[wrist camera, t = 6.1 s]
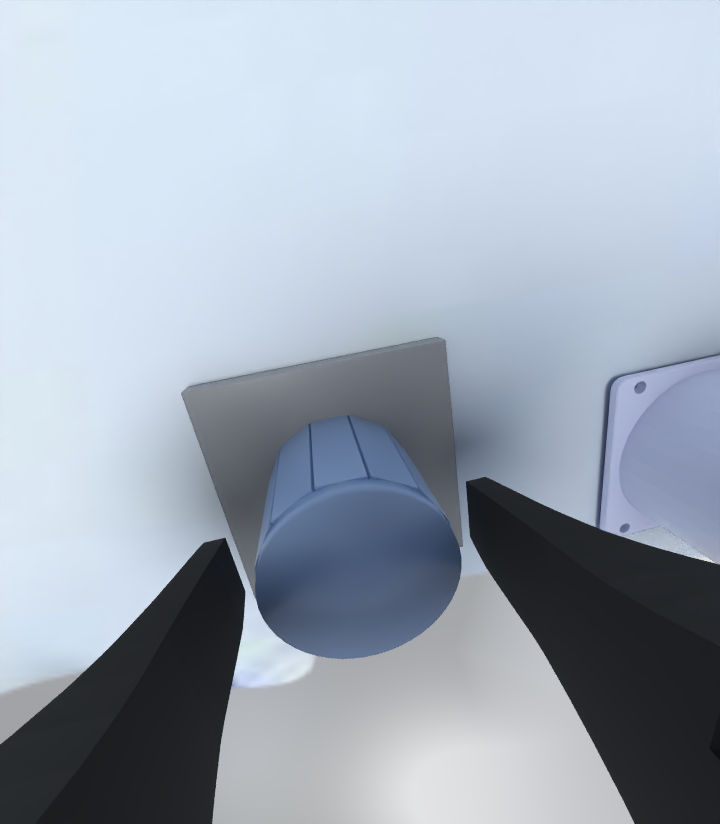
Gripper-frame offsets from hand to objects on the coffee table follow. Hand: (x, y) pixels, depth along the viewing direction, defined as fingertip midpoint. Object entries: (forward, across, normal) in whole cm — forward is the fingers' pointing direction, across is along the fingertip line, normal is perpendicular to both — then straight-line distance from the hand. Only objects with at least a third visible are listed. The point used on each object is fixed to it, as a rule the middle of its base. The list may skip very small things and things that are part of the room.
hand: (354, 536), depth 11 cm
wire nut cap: (+3, 0, 0) cm, 3 cm away
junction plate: (+4, 0, 0) cm, 4 cm away
